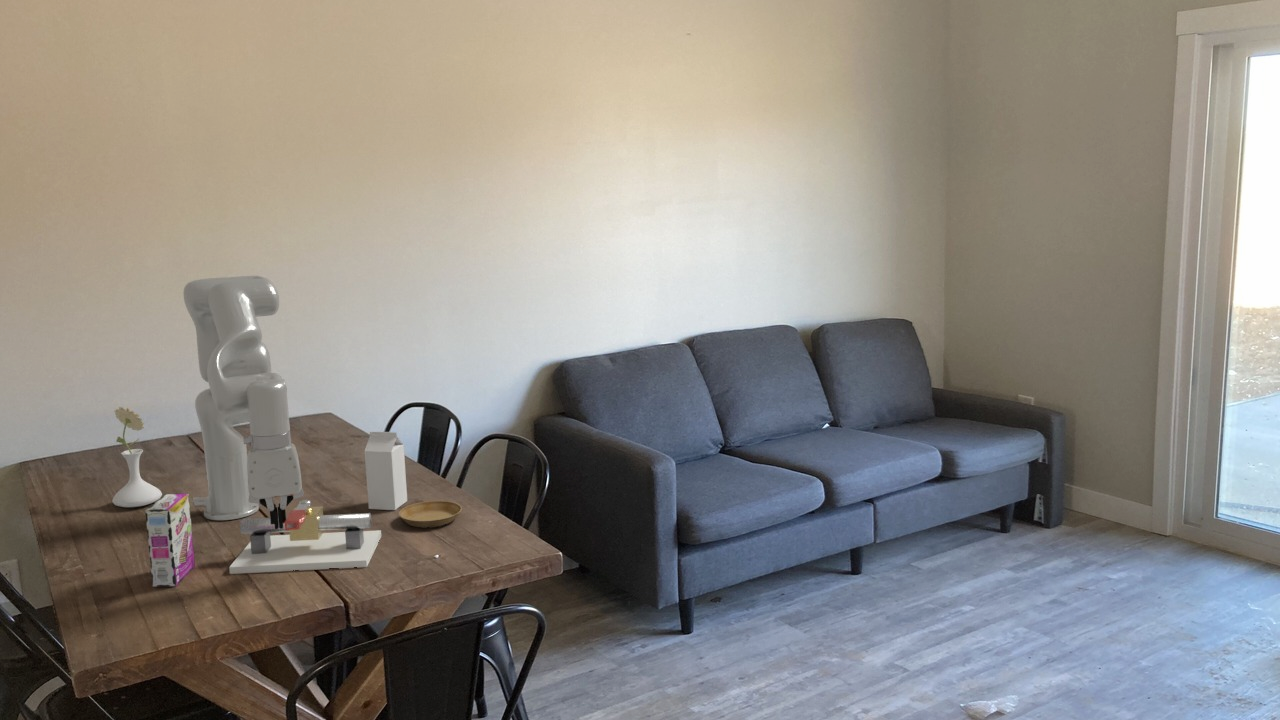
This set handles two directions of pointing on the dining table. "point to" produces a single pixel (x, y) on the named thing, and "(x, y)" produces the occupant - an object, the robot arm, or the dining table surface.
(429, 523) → the plant saucer
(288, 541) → the valve board
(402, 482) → the milk carton
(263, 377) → the robot arm
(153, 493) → the flower in vase
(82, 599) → the dining table surface
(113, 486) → the dining table surface
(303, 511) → the valve lever
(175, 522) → the candy bar box
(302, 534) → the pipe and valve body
